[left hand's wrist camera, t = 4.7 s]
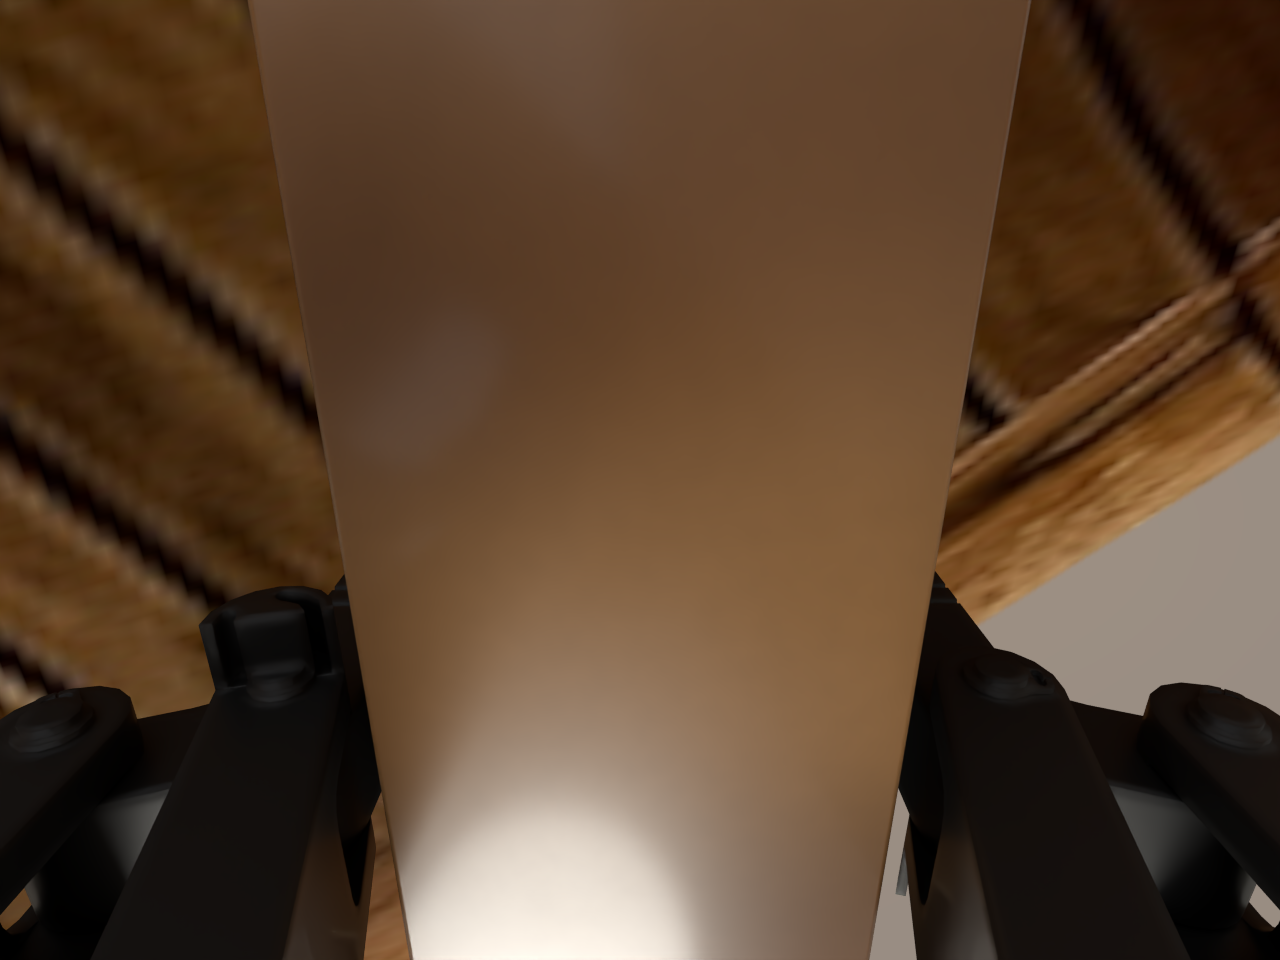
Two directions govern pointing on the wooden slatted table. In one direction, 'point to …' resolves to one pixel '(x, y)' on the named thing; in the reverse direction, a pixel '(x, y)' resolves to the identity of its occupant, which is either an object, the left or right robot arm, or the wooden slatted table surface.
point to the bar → (639, 438)
